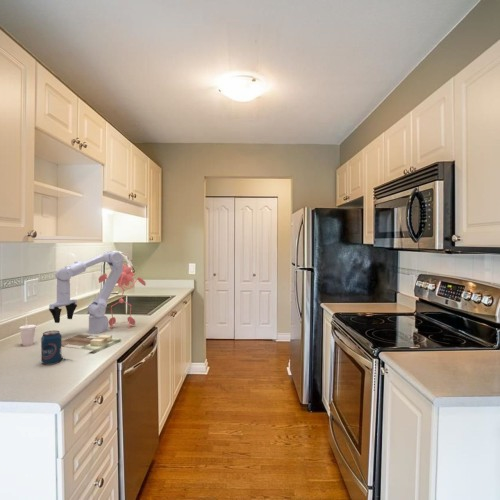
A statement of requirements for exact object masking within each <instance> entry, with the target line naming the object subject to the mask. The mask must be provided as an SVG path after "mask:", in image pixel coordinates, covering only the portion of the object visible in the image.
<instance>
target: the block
mask: <svg viewBox="0 0 500 500" xmlns="http://www.w3.org/2000/svg"><path fill="white" fill-rule="evenodd" d="M112 338H113V335H111V334H101V335H99V337H95V339H93V340H90V346H98V347H101V346H103V345H105V344H107V343H109V342H110V341H112Z"/></svg>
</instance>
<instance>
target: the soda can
mask: <svg viewBox="0 0 500 500" xmlns="http://www.w3.org/2000/svg"><path fill="white" fill-rule="evenodd" d="M40 338H41V339H40V343H41V345H40V346H41V350H40V351H41V355H40V356H41V359H40V360H41V362H42V364H43V365H45V366H46V365H54V364H55V365H56V364H58V363H60V361H61V359H62V357H63V356H62V347H61V341H62V334H61V333H60V331H59V330H47V331H45V332H42V335H41V337H40Z"/></svg>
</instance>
